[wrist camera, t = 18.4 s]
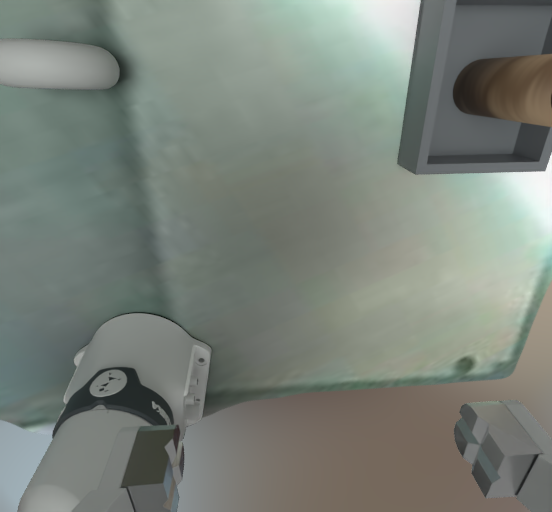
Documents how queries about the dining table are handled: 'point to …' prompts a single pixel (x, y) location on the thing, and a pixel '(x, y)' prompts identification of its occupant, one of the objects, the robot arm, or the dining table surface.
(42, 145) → the dining table surface
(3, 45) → the donut
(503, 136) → the bin
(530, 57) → the pepper mill
